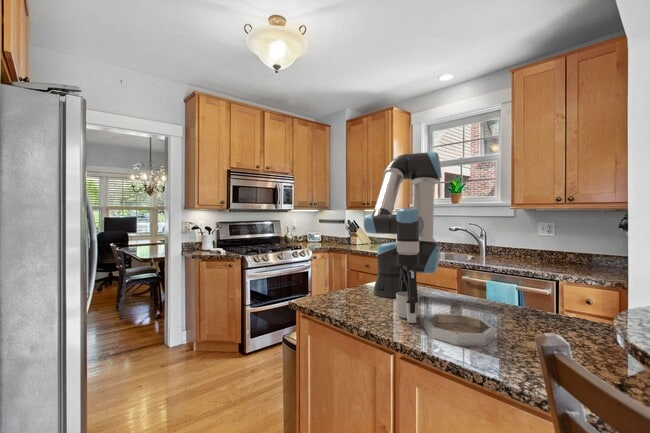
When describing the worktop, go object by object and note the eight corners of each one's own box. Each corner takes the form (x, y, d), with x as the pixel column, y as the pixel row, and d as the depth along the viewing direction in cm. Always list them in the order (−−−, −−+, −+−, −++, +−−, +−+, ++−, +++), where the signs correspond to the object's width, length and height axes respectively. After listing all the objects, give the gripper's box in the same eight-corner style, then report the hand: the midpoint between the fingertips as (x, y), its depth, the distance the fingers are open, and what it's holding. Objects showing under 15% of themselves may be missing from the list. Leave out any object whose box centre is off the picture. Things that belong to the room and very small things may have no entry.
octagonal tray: (419, 322, 107) (419, 313, 107) (475, 323, 106) (475, 314, 106) (437, 345, 89) (437, 334, 89) (505, 346, 88) (505, 335, 88)
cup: (421, 324, 106) (421, 299, 106) (396, 322, 107) (396, 298, 107) (418, 314, 116) (418, 292, 116) (395, 312, 118) (395, 290, 118)
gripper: (390, 249, 123) (390, 307, 123) (404, 257, 100) (404, 328, 100) (410, 249, 123) (410, 307, 123) (428, 257, 100) (428, 328, 100)
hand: (407, 316), depth 112 cm, fingers closed on cup, 11 cm apart
